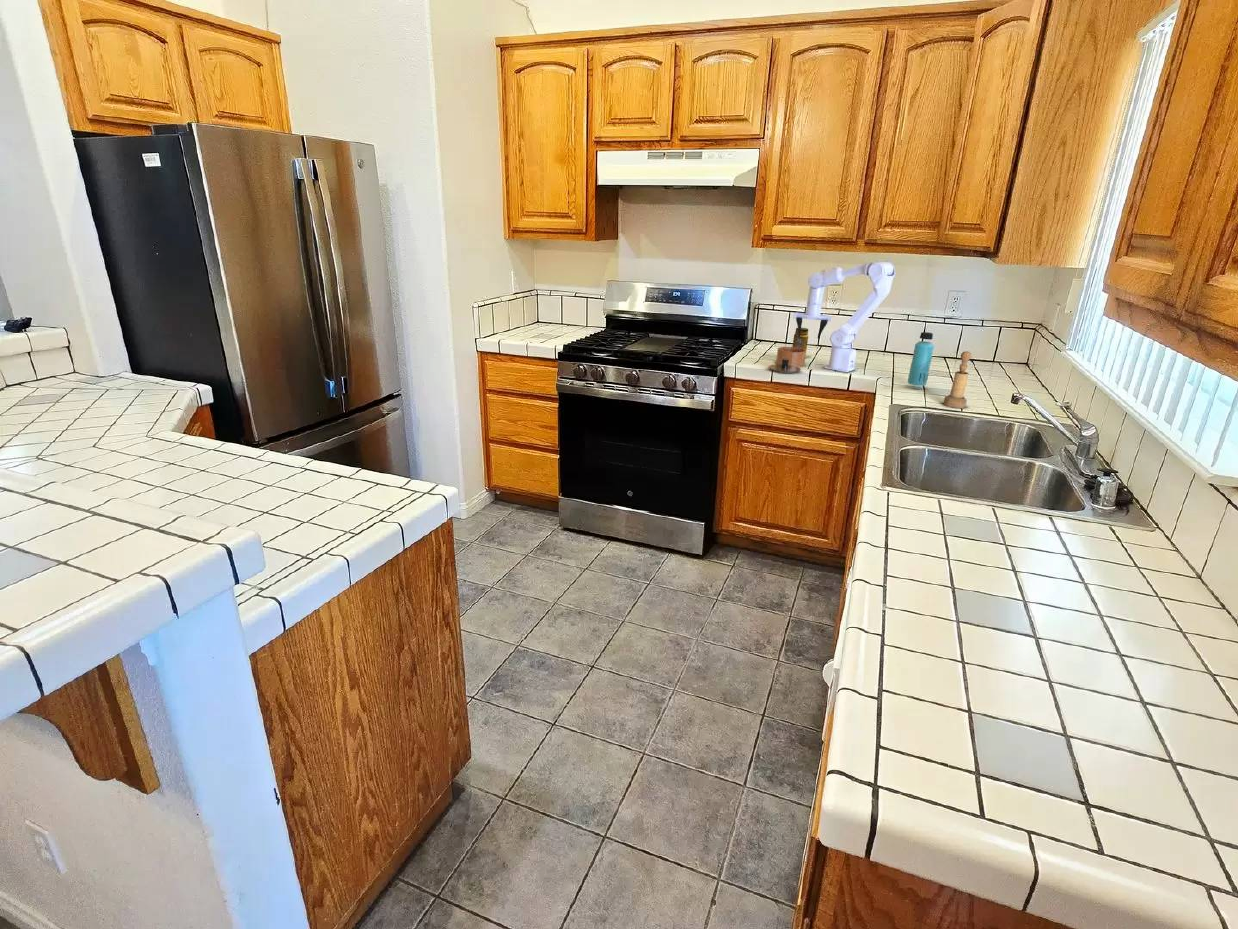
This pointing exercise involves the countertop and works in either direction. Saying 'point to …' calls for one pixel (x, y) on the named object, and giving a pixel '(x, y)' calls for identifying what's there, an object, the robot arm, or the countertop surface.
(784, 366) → the pot lid
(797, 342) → the condiment
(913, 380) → the beverage bottle
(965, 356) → the mortar and pestle
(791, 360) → the terracotta bowl
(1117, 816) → the countertop surface
